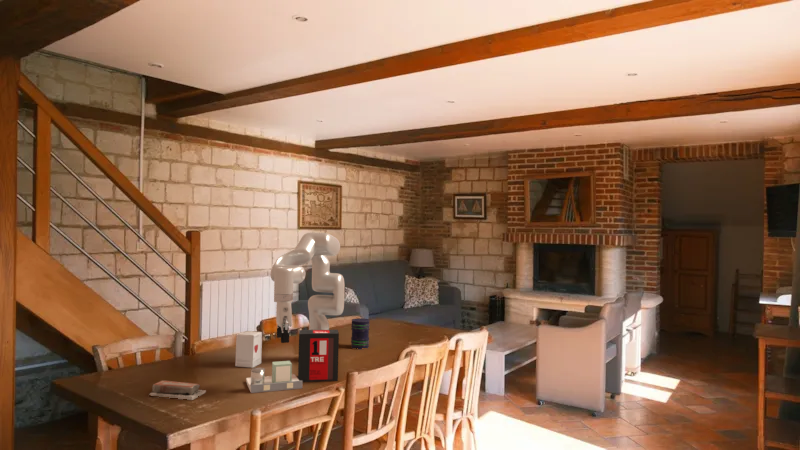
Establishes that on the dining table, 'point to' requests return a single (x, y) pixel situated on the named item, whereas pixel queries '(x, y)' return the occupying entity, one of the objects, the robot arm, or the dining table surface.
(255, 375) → the clear glass cup
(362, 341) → the storage jar
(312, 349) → the cleaning product box
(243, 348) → the supplement box
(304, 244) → the robot arm
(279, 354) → the dining table surface
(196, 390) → the notched trowel
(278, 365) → the tea box
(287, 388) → the board
